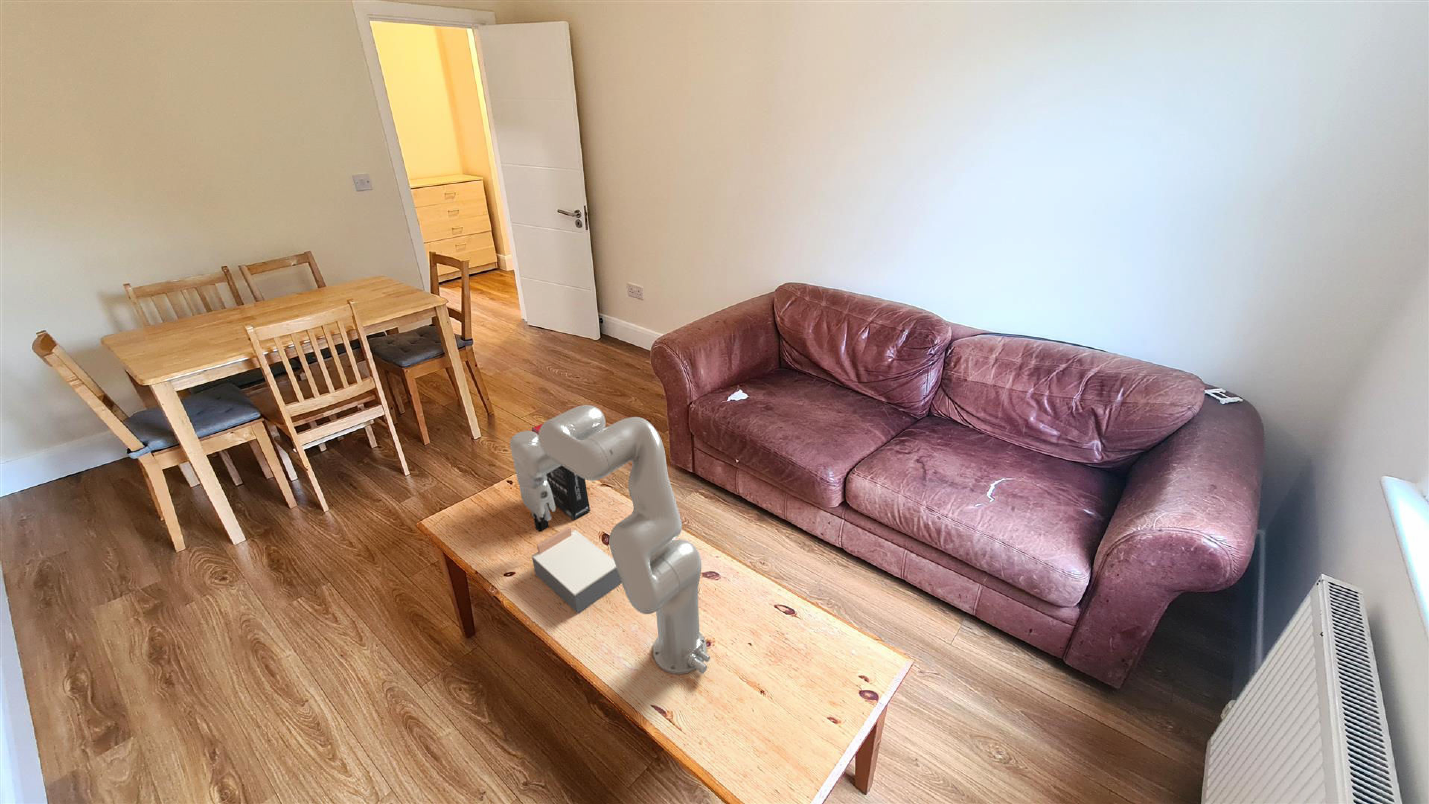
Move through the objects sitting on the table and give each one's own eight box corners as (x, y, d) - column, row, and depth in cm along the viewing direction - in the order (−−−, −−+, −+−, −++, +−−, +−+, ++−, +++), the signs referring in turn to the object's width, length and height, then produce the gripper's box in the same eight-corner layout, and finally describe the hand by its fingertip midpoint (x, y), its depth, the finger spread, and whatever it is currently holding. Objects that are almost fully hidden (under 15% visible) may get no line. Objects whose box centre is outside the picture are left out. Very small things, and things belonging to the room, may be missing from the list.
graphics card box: (592, 512, 181) (581, 438, 168) (573, 523, 176) (560, 448, 163) (561, 489, 191) (549, 419, 178) (543, 499, 187) (529, 427, 174)
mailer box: (621, 583, 154) (619, 566, 151) (578, 613, 145) (574, 596, 143) (578, 548, 166) (575, 532, 164) (535, 574, 158) (532, 558, 155)
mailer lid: (619, 565, 151) (618, 557, 150) (574, 596, 142) (573, 587, 141) (575, 531, 163) (574, 522, 162) (531, 557, 155) (529, 548, 153)
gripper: (559, 480, 150) (569, 534, 159) (529, 458, 159) (539, 510, 168) (534, 493, 145) (545, 548, 154) (504, 470, 154) (516, 523, 163)
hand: (542, 528), depth 161 cm, fingers closed
